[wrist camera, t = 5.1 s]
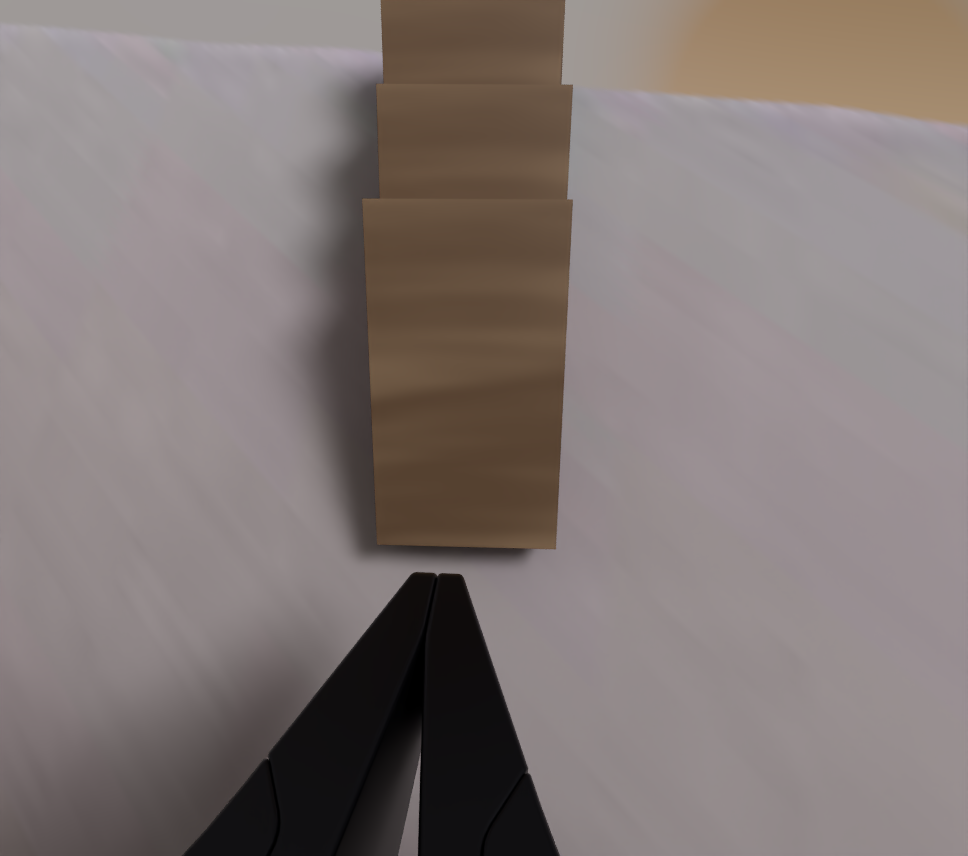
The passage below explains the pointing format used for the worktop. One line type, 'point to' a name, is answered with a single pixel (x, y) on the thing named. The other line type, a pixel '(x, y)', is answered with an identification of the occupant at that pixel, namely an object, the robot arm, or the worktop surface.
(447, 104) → the domino
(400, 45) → the domino
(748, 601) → the worktop surface
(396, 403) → the domino
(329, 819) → the robot arm
